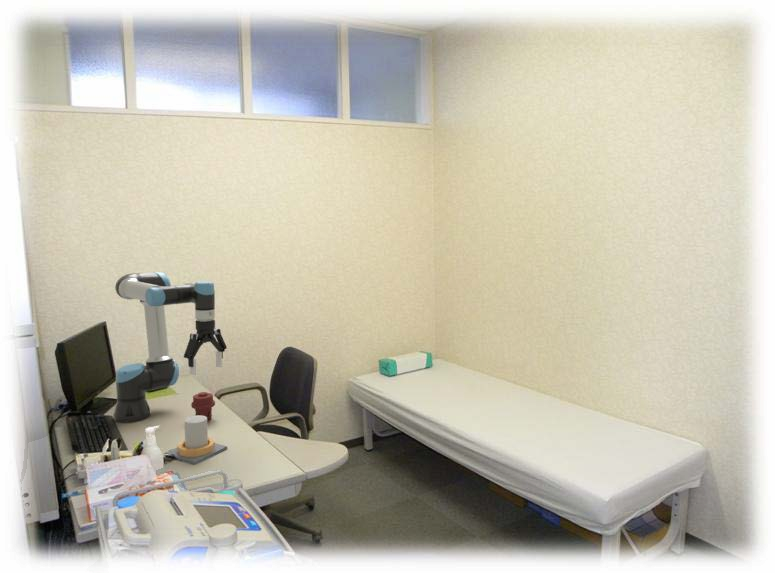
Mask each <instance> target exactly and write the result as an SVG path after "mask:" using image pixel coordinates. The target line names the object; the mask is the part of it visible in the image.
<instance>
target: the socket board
mask: <svg viewBox="0 0 775 573" xmlns="http://www.w3.org/2000/svg"><path fill="white" fill-rule="evenodd" d="M176 446H177V447H175V448H173V449H170V450H168V451H165V452H164V455H165V454H174V455H175V457H176V458H177V459H176V460H179V461H183V462H185V463H189V464H192V465H197V464H200V463H201V462H203V461H206V460H207V459H209V458H212V457H213V456H215V455H217V454H220V453H221V452H224V451H226V450H228V446H227V445H224V444H220V443H216V441H215V440H214V439H213V438H212V437H209V436H208V445H206V446H204V447H201V448H196V449H188V448H185V439H183V440H181V441H180V442H179V443H178V444H177V445H176Z"/></svg>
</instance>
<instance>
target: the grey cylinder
mask: <svg viewBox="0 0 775 573" xmlns="http://www.w3.org/2000/svg"><path fill="white" fill-rule="evenodd" d="M208 431H209V430H208V420H207V417H206V416H202V415H197V416H195V415H191V416H188V417H186V418H185V419H184V440H185V448H188V449H196V448H201V447H204V446H206V445H208V437H209V435H208Z"/></svg>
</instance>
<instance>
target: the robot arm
mask: <svg viewBox="0 0 775 573" xmlns="http://www.w3.org/2000/svg"><path fill="white" fill-rule="evenodd" d="M114 289H115V293H116V294H117V295H118V297H120V298H122V299H125V300H138V301H139V303H141V305H143V309H144V318H145V319H144V320H145V330H146V340H147V351H148V358H147V359H146V360H145V365H144V363H143V362H142V363H140V362H137V363H130V364H126V365H124V366H121V367H119V368H118V369H117V370H116V372H115V385H116V386H115V387H116V388H115V389H116V405H115V409H114V412H113V414H112V415H113V421H115V422H116V423H135V422H139V421H143V420H146V419H147V418H149V417H150V416H151V409H150V405H149V403H148V401H147V398H146V392H149V391H153V390H159V389H163V388H164V389H165V388H168V387H172V386H175V384H176V383H177V381H178V380H179V376H180V369H179V365H178V362H177V361H176V360H173V356H171V354H170V353H169V343H168V332H167V323H166V312H165V306H171V305H179V304H180V305H181V304H190V303H191V304H192V303H193V304H194V317H195V318H194V319H195V330H196V333H190V334H189V341H188V343H187V345H186V348H185V351H184V353H183V358H184V359H187V362H188V363H187V364H188V367H189V374H190V375H192V376H196V375H197V363H196V358H195V357H196V355H197V353H198V351H199V350H200V348H201V346H203V345H204V344H207V343H211V344H212V345H213V347H214V348H215V349H216V351H215V367H217V368H223V359H224V358H223V357H224V355H223V354H224V353H223V352H225V351H226V349H227V345H226V343H225V340H224V337H223V335H222V332H221V329H220V328H216V320H215V318H216V311H215V310H216V309H215V304H216V303H215V293H216V292H215V284H214V282H213V281H209V280H208V281H206V280H203V281H201V280H200V281H195V283H183V284H179V285H171V281H170V279H169V277H168V276H167V274H165V273H164V272H162V271H161V272H160V271H151V272H150V271H149V272H137V273H136V272H135V273H128V274H125V275H123V276H121V277H120V278H118V279H117V281H116V283H115V287H114Z"/></svg>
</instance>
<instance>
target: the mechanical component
mask: <svg viewBox="0 0 775 573" xmlns="http://www.w3.org/2000/svg"><path fill="white" fill-rule="evenodd" d="M190 405H191V406H190V408H192V409H194V412H195V415H194V416H197V415H202V416H206V417H207V421H211V420H212V418H213V417H212V416H213V415H212V409H213V407H214V406H215V405H216V400H214V394H213V393H211V392H207V391H201V392H198V393H196V394H194V395H193V396H192V402H191V404H190Z"/></svg>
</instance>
